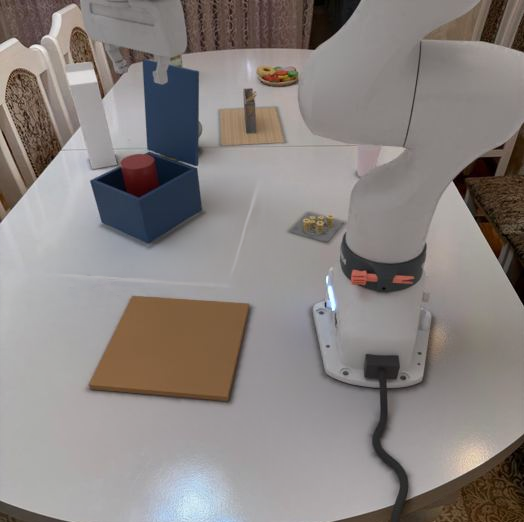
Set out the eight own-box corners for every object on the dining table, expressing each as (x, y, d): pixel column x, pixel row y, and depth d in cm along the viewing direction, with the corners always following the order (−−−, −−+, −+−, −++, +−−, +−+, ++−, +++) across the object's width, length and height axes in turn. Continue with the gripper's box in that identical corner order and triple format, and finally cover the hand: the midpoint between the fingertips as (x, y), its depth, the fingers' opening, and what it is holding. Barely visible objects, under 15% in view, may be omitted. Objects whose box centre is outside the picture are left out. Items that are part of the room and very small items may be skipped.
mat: (228, 401, 69) (227, 396, 68) (90, 389, 71) (88, 384, 70) (249, 307, 83) (248, 303, 82) (133, 300, 85) (132, 295, 84)
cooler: (148, 247, 96) (139, 200, 89) (102, 225, 102) (89, 180, 95) (202, 212, 105) (197, 168, 98) (156, 194, 110) (148, 151, 103)
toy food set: (253, 76, 167) (253, 65, 164) (290, 72, 169) (291, 61, 167) (265, 89, 158) (265, 78, 155) (304, 84, 160) (305, 73, 158)
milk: (89, 159, 124) (62, 61, 108) (113, 155, 125) (90, 57, 110) (92, 169, 120) (64, 68, 104) (117, 165, 121) (93, 64, 106)
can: (159, 226, 99) (149, 169, 91) (129, 225, 100) (115, 168, 92) (168, 210, 104) (158, 154, 95) (138, 209, 105) (126, 153, 96)
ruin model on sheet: (284, 142, 129) (284, 102, 122) (221, 145, 128) (218, 105, 121) (275, 107, 146) (275, 70, 139) (220, 109, 146) (217, 73, 139)
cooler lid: (196, 71, 87) (199, 71, 88) (142, 59, 93) (145, 58, 94) (195, 166, 97) (198, 165, 98) (147, 149, 103) (149, 149, 103)
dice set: (334, 224, 100) (335, 215, 99) (323, 236, 97) (324, 227, 96) (312, 217, 102) (312, 209, 101) (300, 229, 99) (300, 221, 98)
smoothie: (378, 181, 113) (388, 118, 103) (350, 179, 114) (357, 116, 104) (379, 169, 117) (389, 106, 107) (352, 167, 118) (359, 105, 108)
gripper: (60, -28, 76) (85, 72, 86) (155, -14, 67) (171, 95, 77) (93, -34, 79) (113, 62, 89) (187, -22, 71) (198, 83, 81)
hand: (141, 77), depth 83 cm, fingers open, 8 cm apart
